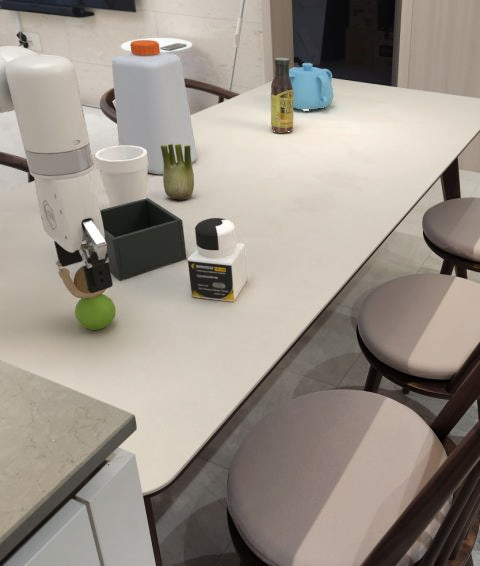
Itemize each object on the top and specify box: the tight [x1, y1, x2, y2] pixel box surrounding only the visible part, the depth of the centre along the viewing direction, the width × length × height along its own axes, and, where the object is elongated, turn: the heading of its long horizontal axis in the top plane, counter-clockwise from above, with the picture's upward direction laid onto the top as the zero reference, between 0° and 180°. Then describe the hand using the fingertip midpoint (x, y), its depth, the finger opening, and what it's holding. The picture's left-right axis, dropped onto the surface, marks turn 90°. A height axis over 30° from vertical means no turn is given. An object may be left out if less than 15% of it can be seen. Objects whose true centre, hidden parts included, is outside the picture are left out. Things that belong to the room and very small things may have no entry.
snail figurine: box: [55, 260, 117, 331], centre depth 91 cm, size 5×6×12 cm
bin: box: [85, 197, 188, 281], centre depth 111 cm, size 12×12×8 cm
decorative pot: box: [289, 62, 334, 110], centre depth 201 cm, size 16×16×14 cm
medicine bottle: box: [187, 217, 248, 303], centre depth 102 cm, size 7×7×12 cm
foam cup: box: [94, 145, 149, 207], centre depth 124 cm, size 10×9×13 cm
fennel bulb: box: [161, 144, 195, 201], centre depth 133 cm, size 6×5×12 cm
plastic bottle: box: [111, 39, 198, 175], centre depth 147 cm, size 15×15×28 cm
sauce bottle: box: [270, 57, 294, 133], centre depth 176 cm, size 7×6×20 cm
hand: (85, 276), depth 89 cm, fingers open, 9 cm apart
